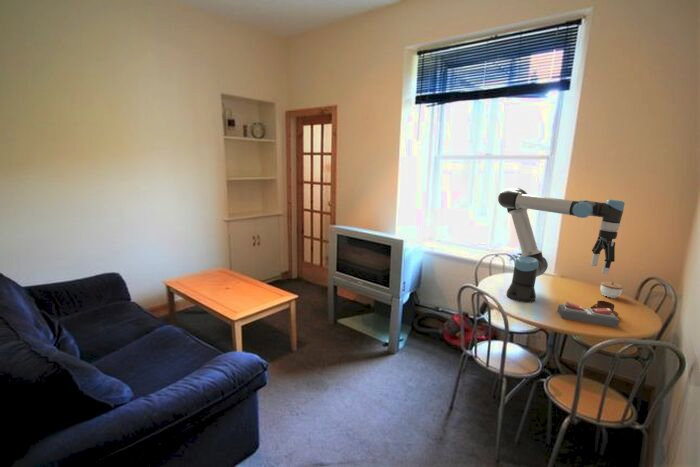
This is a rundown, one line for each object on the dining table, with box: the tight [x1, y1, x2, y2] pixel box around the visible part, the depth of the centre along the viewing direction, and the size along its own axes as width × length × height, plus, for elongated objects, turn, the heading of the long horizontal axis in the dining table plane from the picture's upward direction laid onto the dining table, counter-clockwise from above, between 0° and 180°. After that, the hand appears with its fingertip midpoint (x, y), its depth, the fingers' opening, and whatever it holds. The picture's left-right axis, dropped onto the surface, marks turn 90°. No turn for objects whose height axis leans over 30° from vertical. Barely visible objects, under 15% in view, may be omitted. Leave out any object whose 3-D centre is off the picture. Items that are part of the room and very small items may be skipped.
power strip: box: [557, 303, 620, 329], centre depth 172 cm, size 24×9×5 cm, turn 72°
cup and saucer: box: [590, 300, 619, 318], centre depth 180 cm, size 12×12×6 cm
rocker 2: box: [593, 308, 612, 314], centre depth 170 cm, size 7×4×1 cm, turn 71°
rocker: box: [565, 301, 584, 311], centre depth 173 cm, size 7×4×1 cm, turn 72°
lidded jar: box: [600, 281, 624, 299], centre depth 206 cm, size 11×11×9 cm
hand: (599, 269), depth 179 cm, fingers open, 13 cm apart
